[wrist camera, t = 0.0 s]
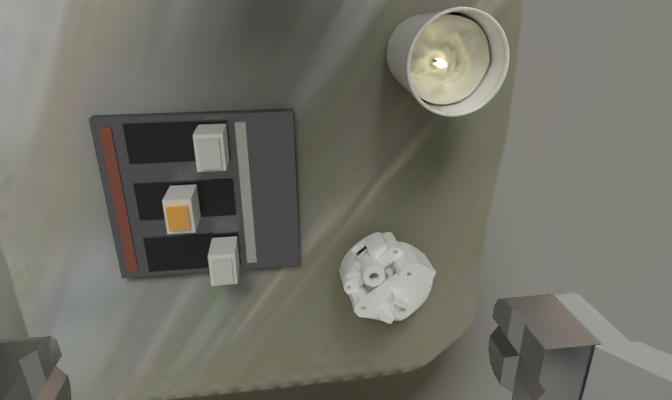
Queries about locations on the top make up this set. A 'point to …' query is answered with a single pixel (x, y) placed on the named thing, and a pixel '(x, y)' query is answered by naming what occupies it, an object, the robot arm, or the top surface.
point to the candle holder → (449, 59)
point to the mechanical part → (386, 277)
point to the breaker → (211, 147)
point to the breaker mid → (181, 209)
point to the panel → (199, 189)
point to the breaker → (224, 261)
